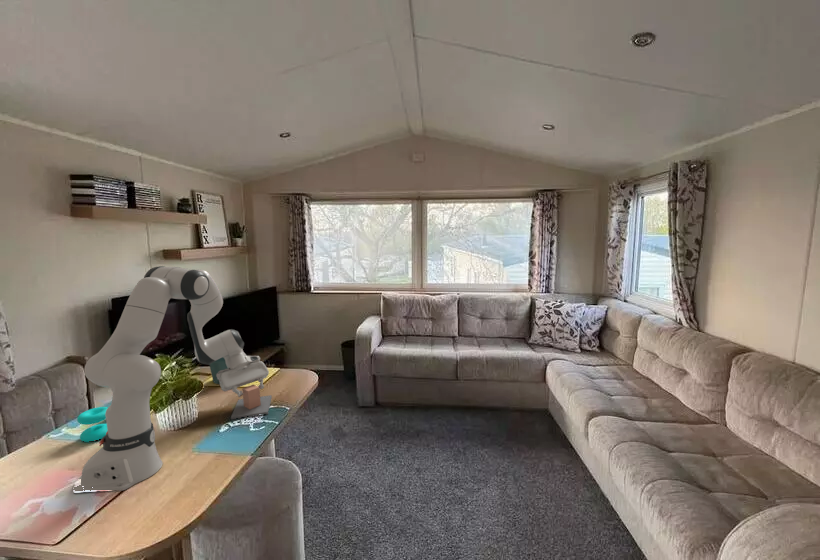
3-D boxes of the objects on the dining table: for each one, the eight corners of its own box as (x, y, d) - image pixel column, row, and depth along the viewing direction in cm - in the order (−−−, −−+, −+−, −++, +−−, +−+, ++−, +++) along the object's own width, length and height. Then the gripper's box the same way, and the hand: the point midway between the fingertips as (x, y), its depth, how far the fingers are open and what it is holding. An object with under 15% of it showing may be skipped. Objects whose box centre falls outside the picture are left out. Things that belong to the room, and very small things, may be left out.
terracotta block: (249, 409, 162) (248, 391, 161) (243, 406, 165) (242, 388, 164) (260, 405, 166) (259, 387, 165) (254, 401, 169) (253, 384, 168)
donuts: (75, 420, 137) (78, 410, 145) (79, 447, 139) (81, 435, 147) (110, 412, 143) (111, 403, 151) (114, 437, 145) (114, 427, 153)
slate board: (231, 419, 156) (231, 417, 156) (238, 401, 172) (238, 399, 172) (267, 414, 159) (267, 411, 159) (271, 397, 176) (271, 395, 175)
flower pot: (205, 388, 188) (202, 356, 186) (210, 376, 204) (207, 347, 202) (241, 383, 194) (239, 352, 192) (244, 372, 209) (241, 343, 207)
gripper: (216, 368, 160) (229, 396, 155) (262, 355, 175) (275, 380, 170) (212, 376, 163) (225, 404, 158) (258, 362, 179) (271, 387, 174)
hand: (251, 391), depth 164 cm, fingers open, 8 cm apart
